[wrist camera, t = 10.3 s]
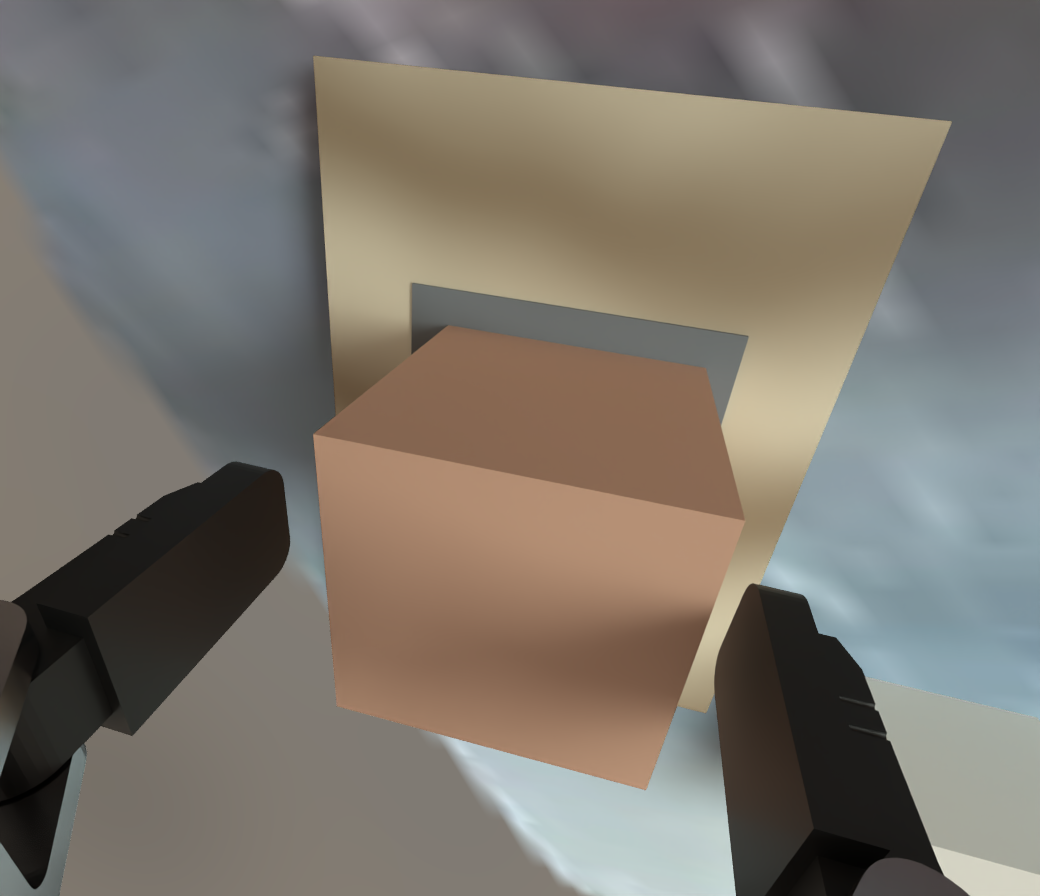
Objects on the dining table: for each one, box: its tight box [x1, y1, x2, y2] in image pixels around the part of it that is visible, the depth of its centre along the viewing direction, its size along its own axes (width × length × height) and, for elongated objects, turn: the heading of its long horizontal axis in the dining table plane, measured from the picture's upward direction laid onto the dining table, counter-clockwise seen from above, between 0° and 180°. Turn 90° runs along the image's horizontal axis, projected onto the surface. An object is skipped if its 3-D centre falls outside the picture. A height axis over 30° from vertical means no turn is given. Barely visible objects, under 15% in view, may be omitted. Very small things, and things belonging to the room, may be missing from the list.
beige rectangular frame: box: [313, 56, 952, 713], centre depth 15 cm, size 16×12×2 cm
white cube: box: [865, 677, 1040, 896], centre depth 16 cm, size 5×5×5 cm
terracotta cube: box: [313, 325, 745, 790], centre depth 11 cm, size 6×6×6 cm
